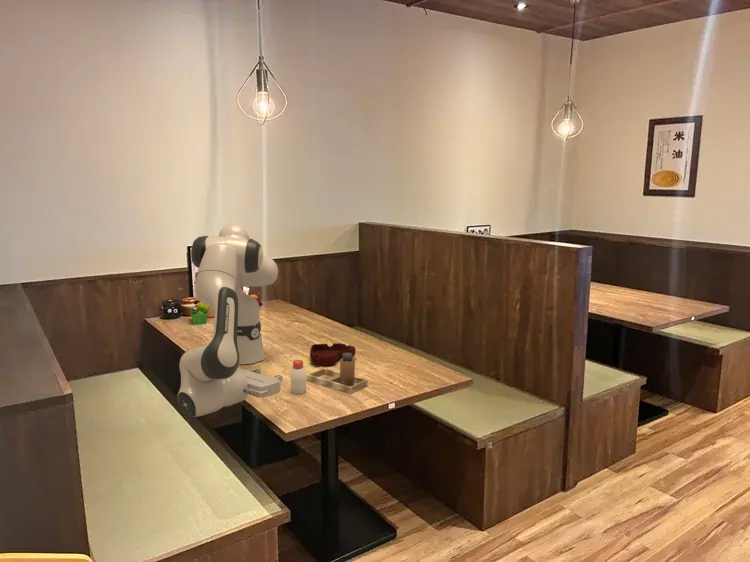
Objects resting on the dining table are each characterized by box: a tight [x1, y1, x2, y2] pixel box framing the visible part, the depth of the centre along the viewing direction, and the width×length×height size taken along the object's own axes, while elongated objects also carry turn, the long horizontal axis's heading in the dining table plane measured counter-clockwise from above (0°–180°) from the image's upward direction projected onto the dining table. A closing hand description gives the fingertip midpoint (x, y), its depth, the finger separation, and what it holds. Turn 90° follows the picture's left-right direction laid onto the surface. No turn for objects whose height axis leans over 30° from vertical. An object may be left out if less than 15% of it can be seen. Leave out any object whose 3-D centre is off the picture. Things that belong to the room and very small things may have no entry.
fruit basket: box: [190, 301, 210, 326], centre depth 270 cm, size 11×9×11 cm
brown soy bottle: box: [339, 353, 356, 386], centre depth 189 cm, size 5×5×11 cm
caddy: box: [306, 367, 369, 395], centre depth 192 cm, size 19×9×3 cm, turn 53°
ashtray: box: [309, 342, 356, 367], centre depth 218 cm, size 18×16×5 cm
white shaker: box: [290, 359, 307, 395], centre depth 184 cm, size 5×5×11 cm
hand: (269, 374), depth 173 cm, fingers open, 8 cm apart
